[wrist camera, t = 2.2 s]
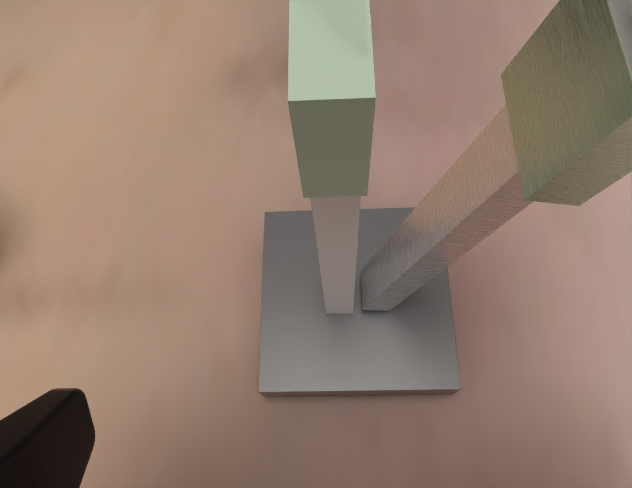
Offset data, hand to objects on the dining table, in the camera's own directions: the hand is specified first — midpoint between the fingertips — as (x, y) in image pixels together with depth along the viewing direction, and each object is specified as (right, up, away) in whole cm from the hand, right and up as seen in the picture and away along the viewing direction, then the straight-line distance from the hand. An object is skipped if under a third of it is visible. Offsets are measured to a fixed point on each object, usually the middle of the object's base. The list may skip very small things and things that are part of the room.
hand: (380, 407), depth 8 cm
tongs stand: (+1, 0, +13) cm, 13 cm away
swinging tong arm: (+1, +1, +11) cm, 11 cm away
